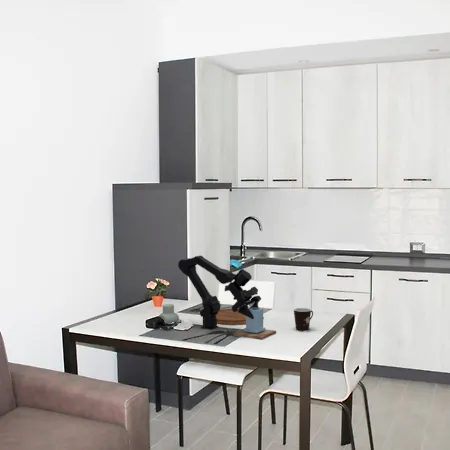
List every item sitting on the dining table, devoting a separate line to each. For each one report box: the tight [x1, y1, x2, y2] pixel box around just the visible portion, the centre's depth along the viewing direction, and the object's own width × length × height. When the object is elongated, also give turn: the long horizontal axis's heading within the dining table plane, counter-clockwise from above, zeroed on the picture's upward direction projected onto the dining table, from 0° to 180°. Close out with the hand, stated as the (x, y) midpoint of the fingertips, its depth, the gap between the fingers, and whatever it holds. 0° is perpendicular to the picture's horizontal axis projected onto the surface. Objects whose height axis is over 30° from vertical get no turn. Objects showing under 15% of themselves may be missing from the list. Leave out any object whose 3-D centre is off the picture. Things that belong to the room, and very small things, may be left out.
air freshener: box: [158, 303, 180, 323], centre depth 321 cm, size 11×8×10 cm
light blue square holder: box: [243, 307, 267, 333], centre depth 296 cm, size 8×8×10 cm
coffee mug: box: [293, 307, 314, 332], centre depth 305 cm, size 12×9×10 cm
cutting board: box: [216, 308, 264, 326], centre depth 332 cm, size 32×32×3 cm
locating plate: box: [232, 327, 277, 341], centre depth 297 cm, size 16×14×4 cm
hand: (256, 317), depth 295 cm, fingers closed on light blue square holder, 6 cm apart
